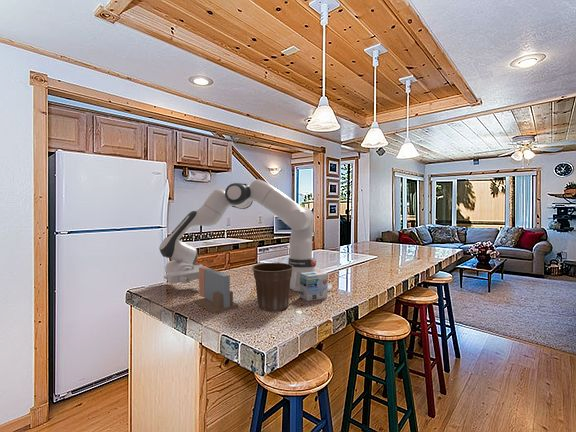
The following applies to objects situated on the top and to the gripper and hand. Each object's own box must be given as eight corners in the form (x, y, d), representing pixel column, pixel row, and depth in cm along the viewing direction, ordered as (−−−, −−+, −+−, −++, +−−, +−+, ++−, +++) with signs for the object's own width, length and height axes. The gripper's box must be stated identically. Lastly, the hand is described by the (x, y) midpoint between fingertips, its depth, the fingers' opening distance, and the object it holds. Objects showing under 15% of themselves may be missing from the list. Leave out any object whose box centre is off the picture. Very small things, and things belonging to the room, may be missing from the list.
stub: (199, 295, 140) (198, 267, 139) (204, 294, 141) (204, 266, 141) (204, 297, 136) (204, 269, 135) (209, 296, 137) (209, 268, 137)
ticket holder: (196, 303, 133) (196, 270, 133) (218, 298, 140) (218, 267, 139) (215, 313, 121) (214, 277, 120) (238, 308, 128) (238, 273, 127)
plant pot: (259, 316, 119) (259, 272, 118) (247, 303, 134) (247, 264, 133) (299, 310, 125) (300, 268, 125) (283, 298, 140) (283, 261, 139)
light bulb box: (307, 301, 137) (307, 276, 136) (299, 297, 143) (299, 272, 142) (328, 298, 142) (328, 273, 141) (319, 294, 147) (319, 270, 147)
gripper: (162, 269, 147) (174, 274, 137) (204, 263, 161) (217, 268, 150) (162, 283, 148) (174, 289, 137) (204, 276, 161) (218, 281, 150)
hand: (197, 278), depth 144 cm, fingers open, 8 cm apart
